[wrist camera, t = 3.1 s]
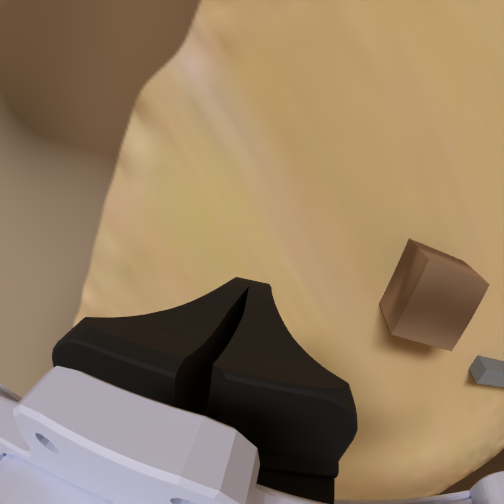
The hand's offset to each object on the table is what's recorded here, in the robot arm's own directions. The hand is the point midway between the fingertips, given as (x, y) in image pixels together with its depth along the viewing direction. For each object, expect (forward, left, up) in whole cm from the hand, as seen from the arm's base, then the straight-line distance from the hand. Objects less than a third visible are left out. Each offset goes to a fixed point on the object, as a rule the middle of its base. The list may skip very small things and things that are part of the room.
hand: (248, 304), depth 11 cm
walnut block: (0, +11, -9) cm, 14 cm away
